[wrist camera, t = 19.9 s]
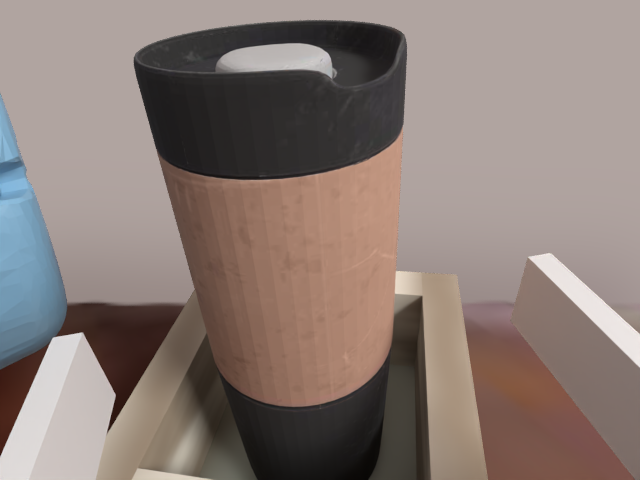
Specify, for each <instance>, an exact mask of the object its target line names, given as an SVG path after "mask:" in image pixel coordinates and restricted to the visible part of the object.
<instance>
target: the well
mask: <svg viewBox="0 0 640 480" xmlns="http://www.w3.org/2000/svg"><path fill="white" fill-rule="evenodd" d="M96 480H257V478H256V476H255V474H254V472H253V470H252V467H251V465H250V462H249V460H248V457H247V454H246V451H245V448H244V446H243V443H242V440H241V437H240V434H239V431H238V428H237V425H236V422H235V419H234V416H233V413H232V411H231V408H230V405H229V402H228V399H227V396H226V393H225V390H224V387H223V384H222V381H221V379H220V376H219V373H218V370H217V367H216V363H215V360H214V357H213V353H212V350H211V346H210V342H209V339H208V335H207V331H206V328H205V324H204V320H203V317H202V313H201V310H200V306H199V302H198V299H197V295H196V291H195V290H194V292H193V293H192V295H191V297H190V298H189V300H188V302H187V303H186V305H185V306H184V308H183V310H182V311H181V313H180V315H179V316H178V318H177V320H176V321H175V323H174V325H173V326H172V328H171V330H170V331H169V333H168V335H167V336H166V338H165V339H164V341H163V343H162V344H161V346H160V348H159V349H158V351H157V353H156V354H155V356H154V358H153V359H152V361H151V363H150V364H149V366H148V368H147V369H146V371H145V373H144V374H143V376H142V377H141V379H140V381H139V382H138V384H137V386H136V387H135V389H134V391H133V392H132V394H131V396H130V397H129V399H128V401H127V402H126V404H125V406H124V407H123V409H122V410H121V412H120V414H119V415H118V417H117V419H116V420H115V422H114V424H113V425H112V427H111V429H110V430H109V432H108V434H107V435H106V438H105V443H104V447H103V451H102V455H101V459H100V463H99V468H98V472H97V476H96ZM368 480H488V477H487V471H486V464H485V458H484V451H483V444H482V438H481V431H480V425H479V418H478V411H477V405H476V398H475V392H474V385H473V378H472V372H471V365H470V359H469V352H468V345H467V339H466V332H465V326H464V319H463V312H462V306H461V299H460V293H459V286H458V280H457V275H451V274H435V273H419V272H402V271H396V279H395V299H394V319H393V337H392V348H391V357H390V366H389V375H388V384H387V393H386V402H385V411H384V420H383V430H382V437H381V445H380V452H379V457H378V460H377V463H376V466H375V469H374V471H373V473H372V475H371V476H370V478H369V479H368Z"/></svg>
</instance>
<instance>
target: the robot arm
mask: <svg viewBox="0 0 640 480" xmlns="http://www.w3.org/2000/svg"><path fill="white" fill-rule="evenodd" d="M66 312H67V299H66V294H65V289H64V285H63V281H62V277H61V273H60V270H59V266H58V262H57V259H56V256H55V253H54V249H53V246H52V243H51V240H50V237H49V233H48V230H47V227H46V224H45V221H44V218H43V215H42V213H41V210H40V207H39V204H38V201H37V198H36V196H35V193H34V190H33V188H32V186H31V184H30V182H29V181H28V179H27V176H26V167H25V165H24V162H23V159H22V156H21V153H20V151H19V148H18V145H17V140H16V136H15V133H14V130H13V127H12V124H11V121H10V119H9V116H8V113H7V110H6V108H5V105H4V102H3V99H2V96H1V94H0V369H2V368H4V367H6V366H8V365H10V364H12V363H14V362H16V361H18V360H21V359H23V358H25V357H27V356H29V355H31V354H33V353H35V352H37V351H38V350H40V349H42V348H43V347H45V346H46V345H47V344H48V343H49V342H50V341H51V343H50V345H49V347H48V349H47V352H46V354H45V356H44V359H43V361H42V363H41V365H40V368H39V370H38V372H37V374H36V377H35V379H34V381H33V384H32V386H31V388H30V390H29V393H28V395H27V397H26V400H25V402H24V404H23V406H22V409H21V411H20V413H19V415H18V418H17V420H16V422H15V425H14V427H13V429H12V431H11V434H10V436H9V438H8V441H7V443H6V445H5V447H4V450H3V452H2V454H1V456H0V480H96V476H97V472H98V468H99V463H100V459H101V455H102V451H103V447H104V443H105V438H106V434H107V430H108V426H109V422H110V417H111V413H112V409H113V405H114V401H115V397H116V395H115V393H114V391H113V389H112V387H111V385H110V383H109V381H108V379H107V378H106V376H105V374H104V372H103V370H102V368H101V366H100V364H99V362H98V361H97V359H96V357H95V355H94V353H93V351H92V349H91V347H90V345H89V344H88V342H87V340H86V338H85V336H84V334H83V333H77V334H71V335H65V336H59V337H55V336H56V335H57V334H58V332H59V331H60V329H61V327H62V325H63V323H64V321H65V317H66ZM510 321H511V322H512V324H513V325H514V326H515V327H516V329H517V330H518V331H519V332H520V334H521V335H522V336H523V338H524V339H525V340H526V341H527V343H528V344H529V345H530V346H531V348H532V349H533V350H534V351H535V353H536V354H537V355H538V357H539V358H540V359H541V360H542V362H543V363H544V364H545V365H546V367H547V368H548V369H549V371H550V372H551V373H552V374H553V376H554V377H555V378H556V379H557V381H558V382H559V383H560V385H561V386H562V387H563V388H564V390H565V391H566V392H567V393H568V395H569V396H570V397H571V399H572V400H573V401H574V402H575V404H576V405H577V406H578V407H579V409H580V410H581V411H582V413H583V414H584V415H585V416H586V418H587V419H588V420H589V421H590V423H591V424H592V425H593V426H594V428H595V429H596V430H597V432H598V433H599V434H600V435H601V437H602V438H603V439H604V440H605V442H606V443H607V444H608V446H609V447H610V448H611V449H612V451H613V452H614V453H615V454H616V456H617V457H618V458H619V460H620V461H621V462H622V463H623V465H624V466H625V467H626V468H627V470H628V471H629V472H630V474H631V475H632V476H633V477H634V479H635V480H640V334H639V333H638V332H637V331H636V330H634V329H633V328H632V327H631V326H630V325H629V324H628V323H627V322H626V321H625V320H623V319H622V318H621V317H620V316H619V315H618V314H617V313H616V312H615V311H614V310H612V309H611V308H610V307H609V306H608V305H607V304H606V303H605V302H604V301H603V300H601V299H600V298H599V297H598V296H597V295H596V294H595V293H593V291H592V290H590V289H589V288H588V287H587V286H586V285H585V284H584V283H583V282H582V281H581V280H579V279H578V278H577V277H576V276H575V275H574V274H573V273H572V272H571V271H570V270H568V269H567V268H566V267H565V266H564V265H563V264H562V263H561V262H560V261H558V260H557V259H556V258H555V257H554V256H553V255H552V254H551V253H549V254H543V255H537V256H531V257H528V259H527V262H526V266H525V269H524V273H523V277H522V280H521V284H520V288H519V291H518V295H517V298H516V302H515V305H514V309H513V312H512V316H511V320H510Z"/></svg>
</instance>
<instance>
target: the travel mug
mask: <svg viewBox="0 0 640 480" xmlns="http://www.w3.org/2000/svg"><path fill="white" fill-rule="evenodd" d="M406 60H407V44H406V39H405V36H404V34H403V33H402V32H400V31H398V30H397V29H395V28H392V27H388V26H384V25H380V24H374V23H365V22H355V21H336V20H334V21H333V20H305V21H281V22H266V23H255V24H245V25H237V26H228V27H221V28H214V29H208V30H203V31H197V32H192V33H187V34H182V35H178V36H174V37H170V38H167V39H163V40H160V41H157V42H155V43H152V44H150V45H148V46H146V47H144V48H142V49H141V50H139V51H138V52H137V53H136V54H135V57H134V68H135V72H136V77H137V81H138V84H139V88H140V92H141V95H142V99H143V102H144V106H145V110H146V113H147V117H148V121H149V124H150V128H151V131H152V135H153V139H154V142H155V146H156V149H157V153H158V157H159V160H160V164H161V167H162V171H163V175H164V179H165V182H166V185H167V190H168V193H169V197H170V200H171V204H172V208H173V211H174V215H175V219H176V222H177V226H178V229H179V233H180V237H181V240H182V244H183V248H184V251H185V255H186V258H187V262H188V266H189V270H190V273H191V277H192V280H193V284H194V288H195V291H196V295H197V299H198V302H199V306H200V310H201V313H202V317H203V320H204V324H205V328H206V331H207V335H208V339H209V342H210V346H211V350H212V353H213V357H214V360H215V363H216V367H217V370H218V373H219V376H220V379H221V381H222V384H223V387H224V390H225V393H226V396H227V399H228V402H229V405H230V408H231V411H232V413H233V416H234V419H235V422H236V425H237V428H238V431H239V434H240V437H241V440H242V443H243V446H244V448H245V451H246V454H247V457H248V460H249V462H250V465H251V467H252V470H253V472H254V474H255V476H256V478H257V480H368V479H369V478H370V476H371V475H372V473H373V471H374V469H375V466H376V463H377V460H378V457H379V452H380V445H381V437H382V430H383V420H384V411H385V402H386V393H387V384H388V375H389V366H390V357H391V348H392V337H393V319H394V299H395V279H396V259H397V257H396V256H397V239H398V218H399V199H400V179H401V158H402V139H403V120H404V119H403V118H404V100H405V80H406Z"/></svg>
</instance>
